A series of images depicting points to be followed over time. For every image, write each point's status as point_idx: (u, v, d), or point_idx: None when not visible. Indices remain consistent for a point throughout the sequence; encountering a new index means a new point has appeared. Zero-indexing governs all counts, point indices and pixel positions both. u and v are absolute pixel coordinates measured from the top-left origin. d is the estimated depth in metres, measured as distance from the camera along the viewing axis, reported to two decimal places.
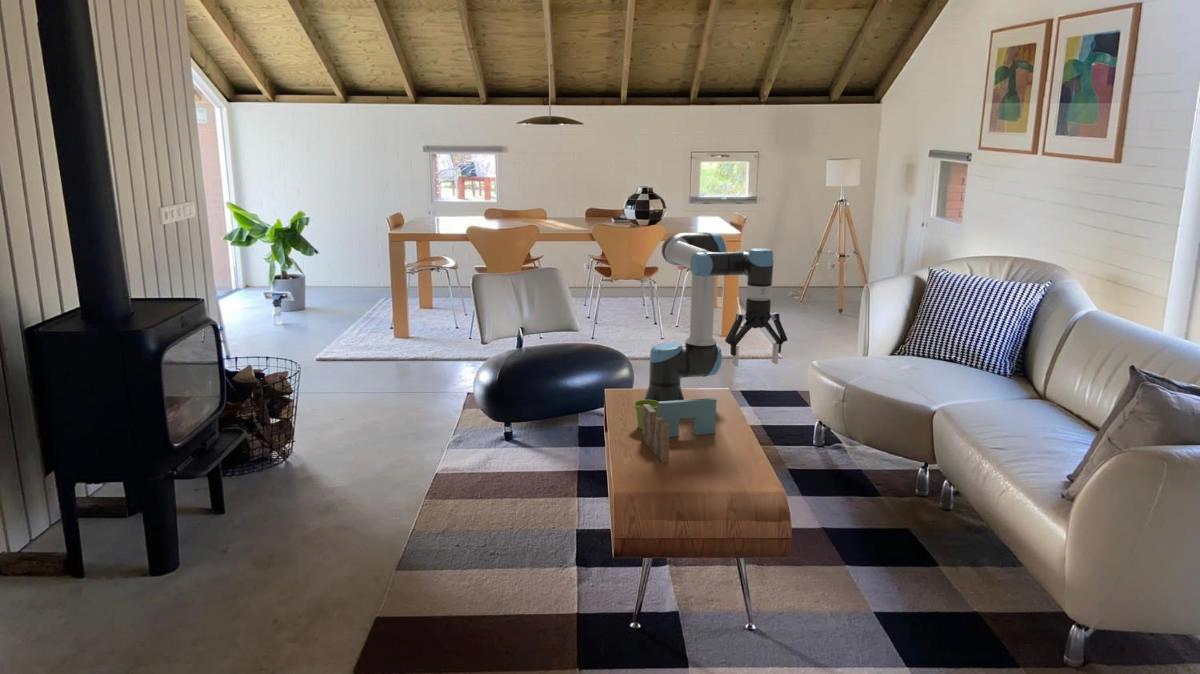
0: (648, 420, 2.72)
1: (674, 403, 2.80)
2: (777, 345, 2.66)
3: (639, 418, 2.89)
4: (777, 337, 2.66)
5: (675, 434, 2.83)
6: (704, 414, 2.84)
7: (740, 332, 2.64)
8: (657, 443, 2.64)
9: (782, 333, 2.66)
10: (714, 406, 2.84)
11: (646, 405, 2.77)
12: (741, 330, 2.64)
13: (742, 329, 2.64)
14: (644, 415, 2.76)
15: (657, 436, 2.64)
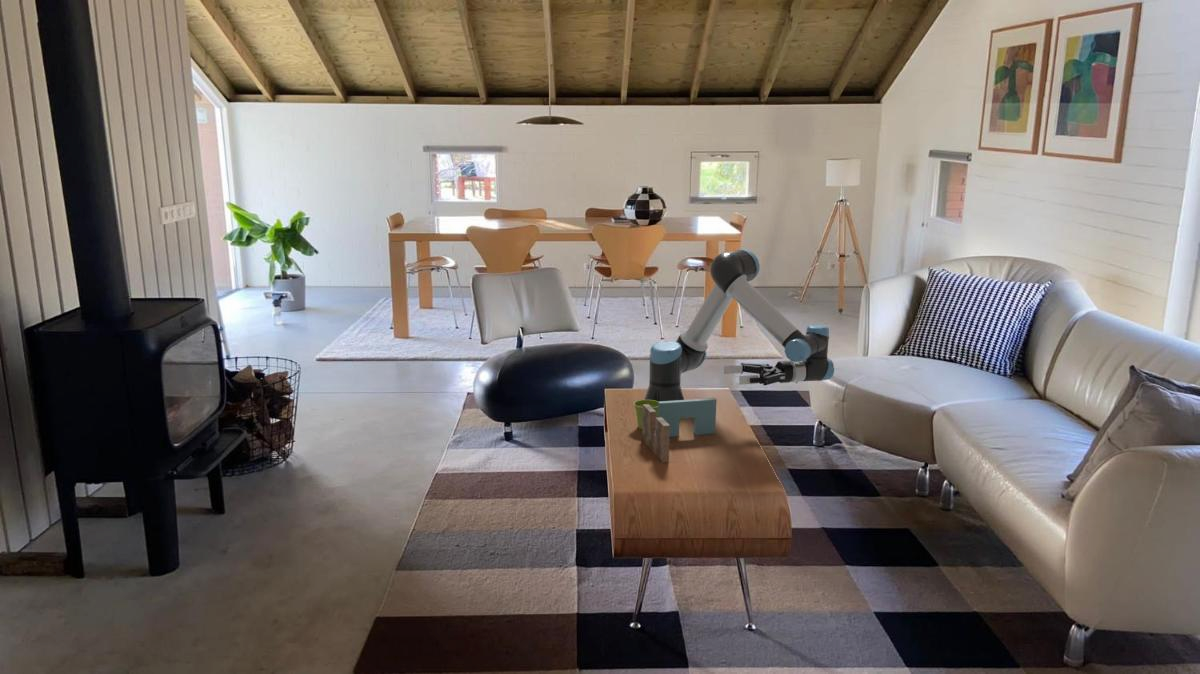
0: (648, 420, 2.72)
1: (674, 403, 2.80)
2: (740, 372, 2.92)
3: (639, 418, 2.89)
4: None
5: (675, 434, 2.83)
6: (704, 414, 2.84)
7: None
8: (657, 443, 2.64)
9: None
10: (714, 406, 2.84)
11: (646, 405, 2.77)
12: None
13: None
14: (644, 415, 2.76)
15: (657, 436, 2.64)
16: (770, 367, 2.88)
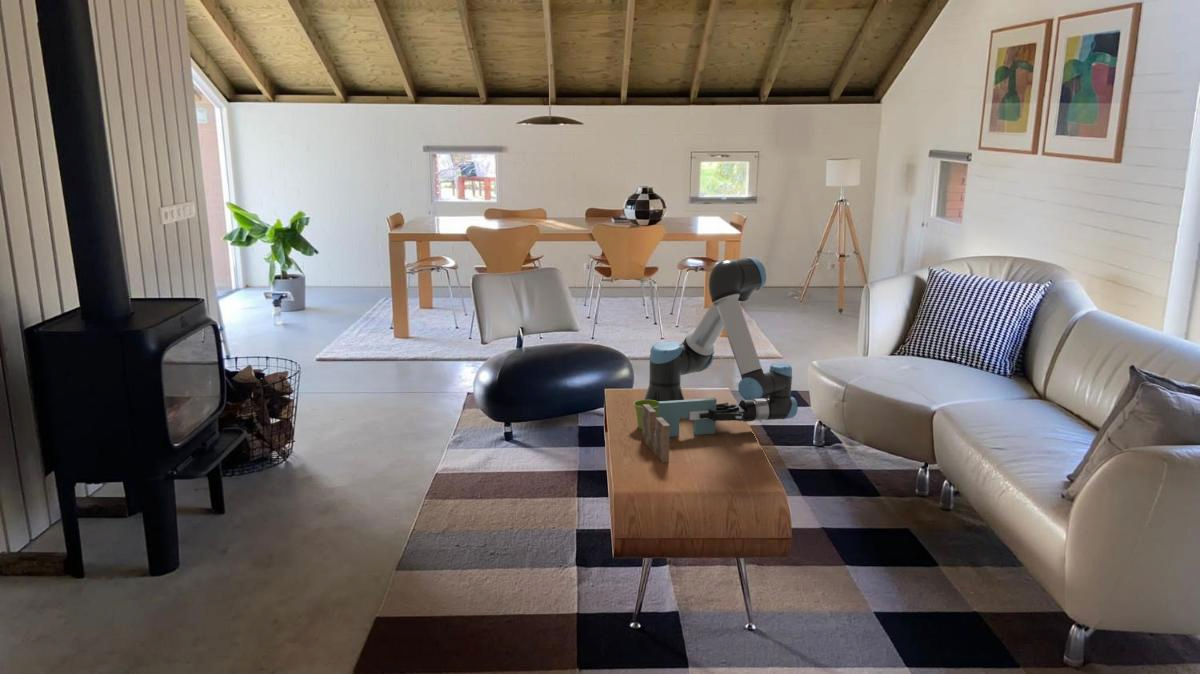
0: (648, 420, 2.72)
1: (674, 403, 2.80)
2: None
3: (639, 418, 2.89)
4: None
5: (675, 434, 2.83)
6: None
7: None
8: (657, 443, 2.64)
9: None
10: (714, 406, 2.84)
11: (646, 405, 2.77)
12: None
13: None
14: (644, 415, 2.76)
15: (657, 436, 2.64)
16: (734, 406, 2.88)
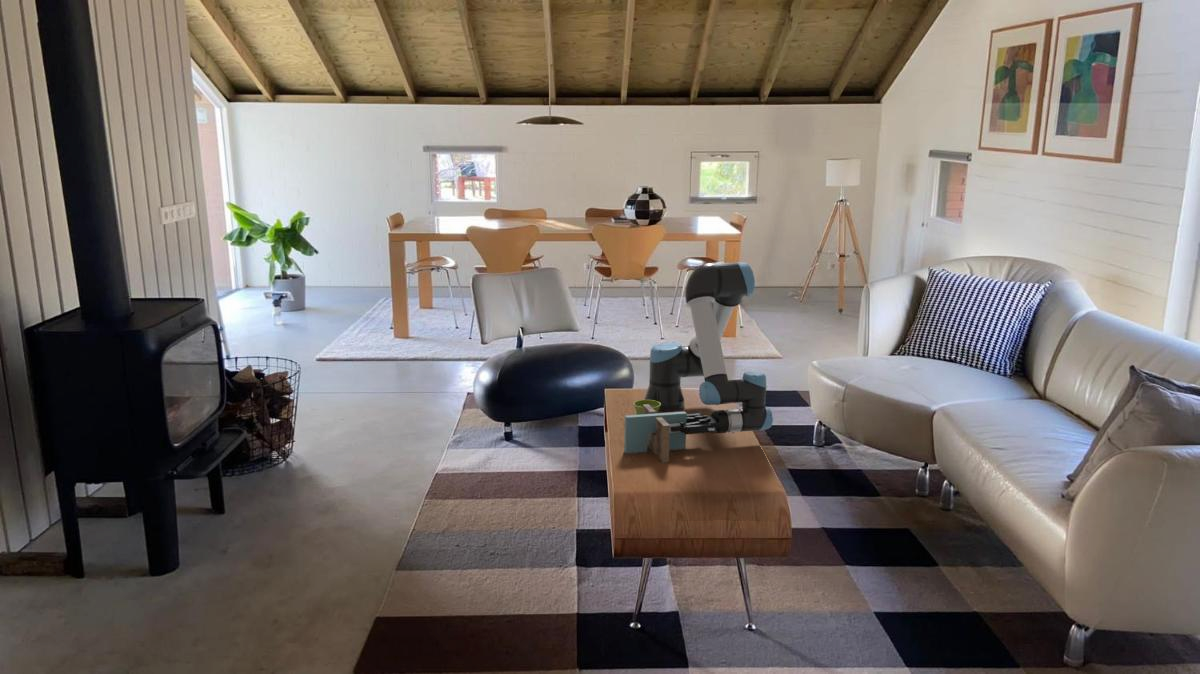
0: None
1: (642, 418, 2.65)
2: None
3: None
4: None
5: (643, 450, 2.68)
6: None
7: None
8: (657, 443, 2.64)
9: None
10: (684, 420, 2.69)
11: (646, 405, 2.77)
12: None
13: None
14: None
15: (657, 436, 2.64)
16: (706, 417, 2.73)
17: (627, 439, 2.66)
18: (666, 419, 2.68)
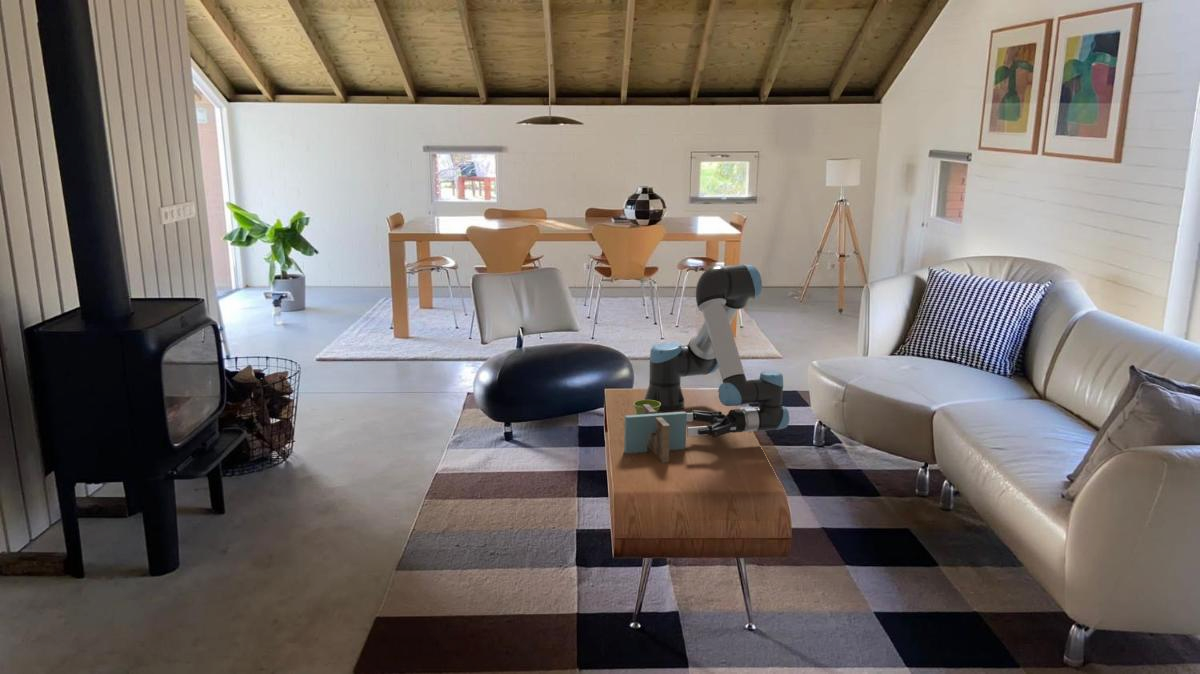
0: None
1: (642, 417, 2.65)
2: (691, 420, 2.78)
3: None
4: None
5: (643, 450, 2.68)
6: (674, 429, 2.69)
7: None
8: (657, 443, 2.64)
9: None
10: (684, 420, 2.69)
11: (646, 405, 2.77)
12: (719, 427, 2.68)
13: (719, 426, 2.68)
14: None
15: (657, 436, 2.64)
16: (721, 416, 2.74)
17: (627, 439, 2.66)
18: (666, 419, 2.68)
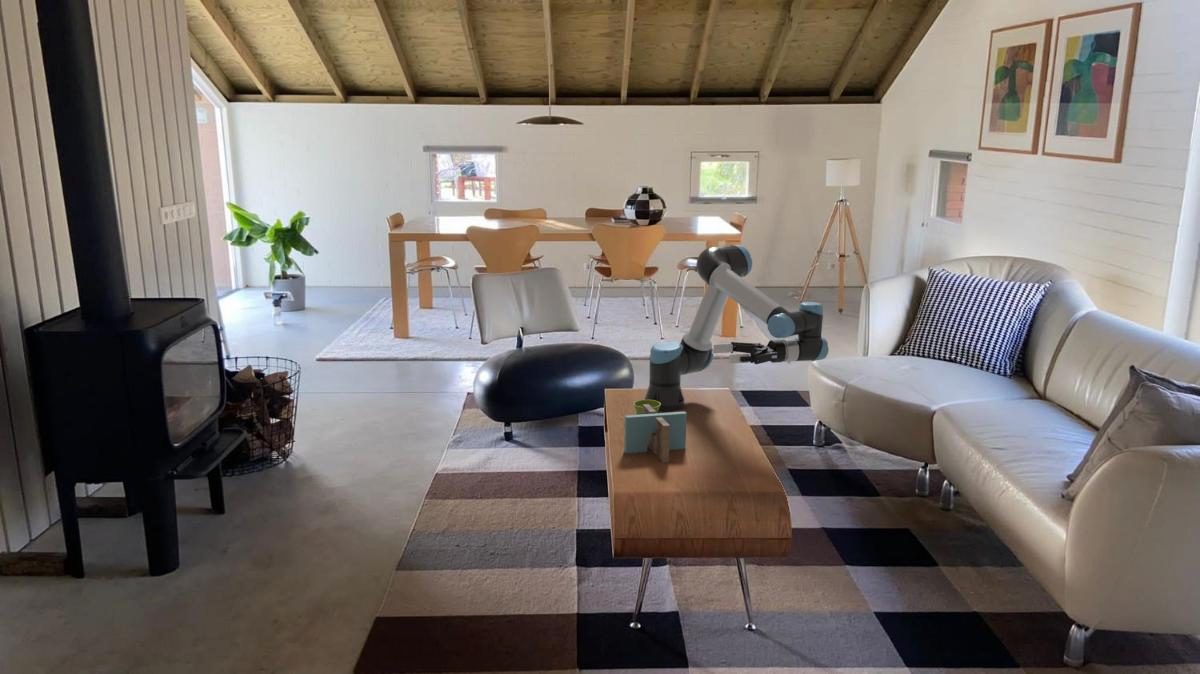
0: None
1: (642, 418, 2.65)
2: None
3: None
4: None
5: (643, 450, 2.68)
6: (674, 429, 2.69)
7: None
8: (657, 443, 2.64)
9: None
10: (684, 420, 2.69)
11: (646, 405, 2.77)
12: (760, 355, 2.69)
13: None
14: None
15: (657, 436, 2.64)
16: (761, 346, 2.76)
17: (627, 439, 2.66)
18: (666, 419, 2.68)
